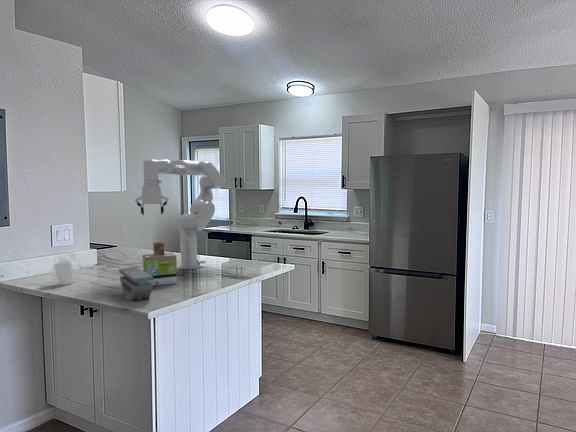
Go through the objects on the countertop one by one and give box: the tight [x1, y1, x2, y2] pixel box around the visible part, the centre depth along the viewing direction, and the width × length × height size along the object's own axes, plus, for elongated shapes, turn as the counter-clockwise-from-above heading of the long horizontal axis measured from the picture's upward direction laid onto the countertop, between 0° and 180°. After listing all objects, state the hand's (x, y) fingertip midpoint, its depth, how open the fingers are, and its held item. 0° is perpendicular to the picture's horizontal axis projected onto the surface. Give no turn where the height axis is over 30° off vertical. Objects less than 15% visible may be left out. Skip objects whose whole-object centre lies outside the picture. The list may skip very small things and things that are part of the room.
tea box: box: [142, 252, 178, 286], centre depth 223 cm, size 15×10×15 cm
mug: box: [54, 260, 82, 286], centre depth 224 cm, size 12×8×11 cm
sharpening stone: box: [118, 266, 154, 301], centre depth 199 cm, size 25×8×11 cm, turn 35°
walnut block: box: [152, 241, 165, 256], centre depth 222 cm, size 5×5×6 cm
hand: (152, 214), depth 239 cm, fingers open, 9 cm apart
